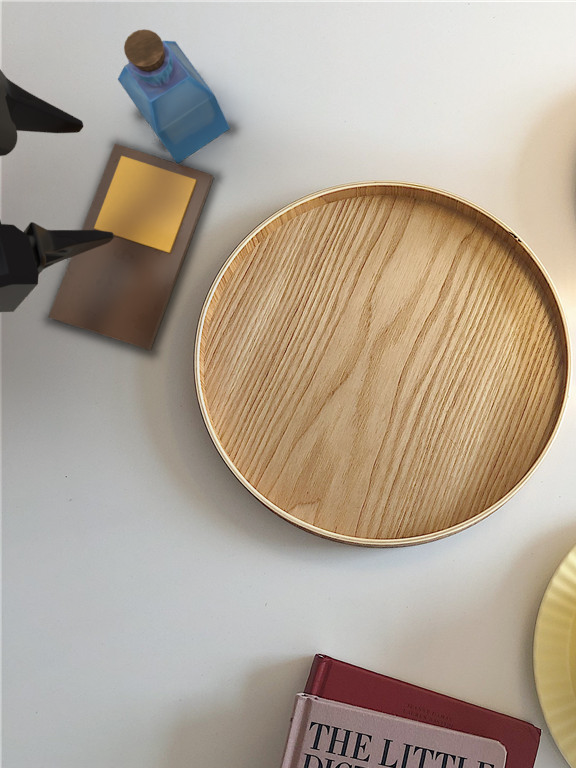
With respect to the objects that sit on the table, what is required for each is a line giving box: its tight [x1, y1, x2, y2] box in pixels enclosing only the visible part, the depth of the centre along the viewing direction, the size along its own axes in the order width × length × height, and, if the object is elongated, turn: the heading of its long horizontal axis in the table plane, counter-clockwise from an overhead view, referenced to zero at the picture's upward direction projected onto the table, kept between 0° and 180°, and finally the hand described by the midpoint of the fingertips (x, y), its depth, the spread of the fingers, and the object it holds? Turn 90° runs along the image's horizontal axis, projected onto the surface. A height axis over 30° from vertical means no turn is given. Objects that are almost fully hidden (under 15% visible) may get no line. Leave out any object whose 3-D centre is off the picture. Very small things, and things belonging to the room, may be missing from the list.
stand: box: [48, 143, 215, 351], centre depth 66 cm, size 10×18×1 cm, turn 162°
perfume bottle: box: [117, 28, 231, 164], centre depth 62 cm, size 6×6×12 cm
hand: (96, 181), depth 53 cm, fingers open, 9 cm apart
